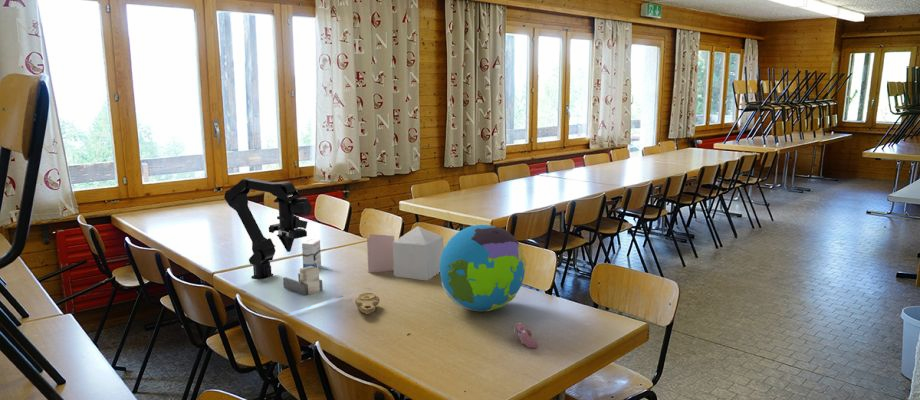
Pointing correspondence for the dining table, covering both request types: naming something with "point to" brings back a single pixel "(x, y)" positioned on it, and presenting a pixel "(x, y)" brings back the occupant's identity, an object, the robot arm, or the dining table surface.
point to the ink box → (311, 253)
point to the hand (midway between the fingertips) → (288, 251)
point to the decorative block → (417, 254)
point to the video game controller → (525, 335)
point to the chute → (297, 285)
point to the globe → (482, 267)
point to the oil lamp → (367, 302)
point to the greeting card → (380, 253)
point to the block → (310, 279)
